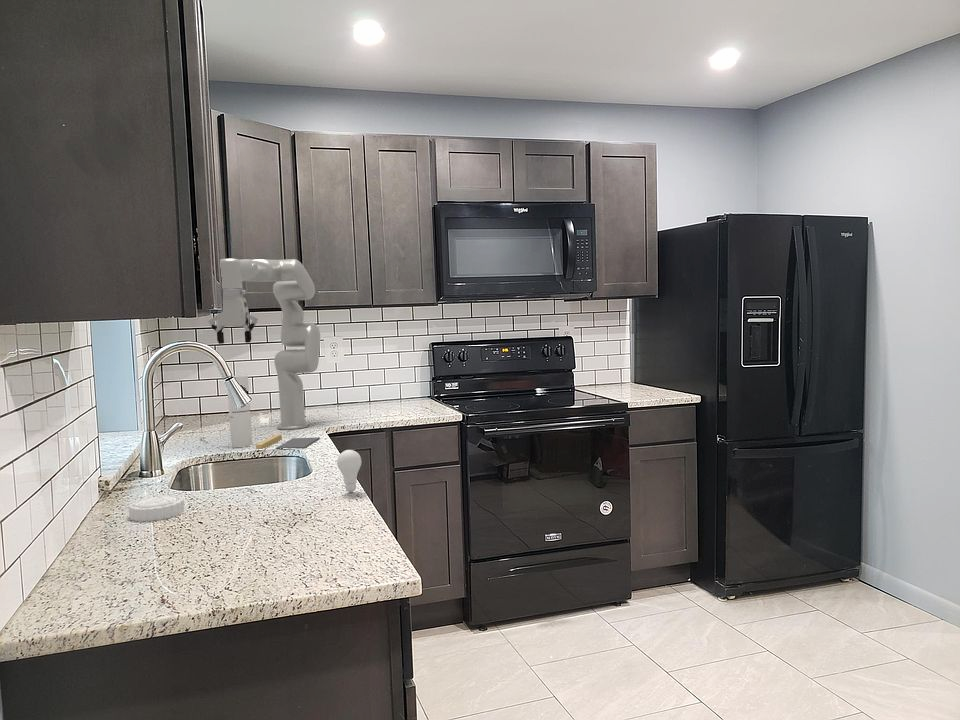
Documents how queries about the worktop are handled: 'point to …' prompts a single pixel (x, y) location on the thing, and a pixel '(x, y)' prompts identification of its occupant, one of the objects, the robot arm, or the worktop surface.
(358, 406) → the worktop surface
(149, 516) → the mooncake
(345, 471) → the lightbulb
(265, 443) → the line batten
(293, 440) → the mat
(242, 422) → the grey tall block
